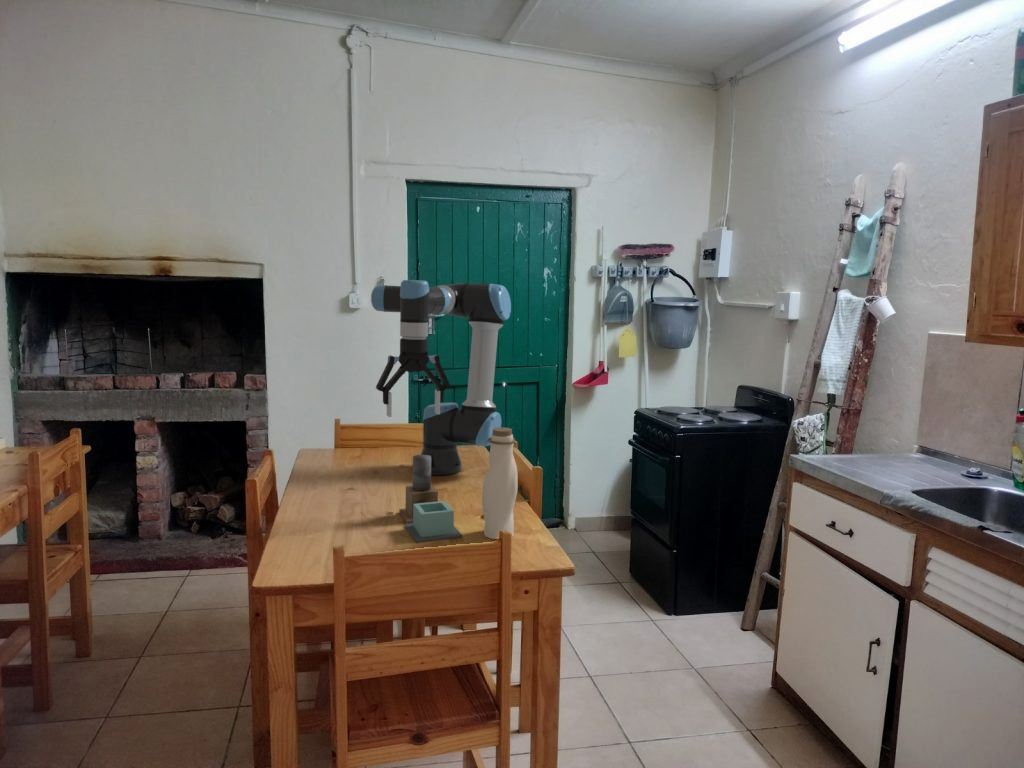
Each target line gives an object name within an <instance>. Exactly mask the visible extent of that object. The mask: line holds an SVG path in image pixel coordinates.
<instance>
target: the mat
mask: <svg viewBox="0 0 1024 768" xmlns="http://www.w3.org/2000/svg"><path fill="white" fill-rule="evenodd" d="M404 527H405V529H406V530H407V532H408V533H409V535H410V536H411V537H412V539H413V540H414V542H415V543H425V542H426V543H427V542H432V541H433V542H435V541H441V540H449V539H460V538H463V535H462V534H461V533H460V531H459V530H458V529H457V528H456V527H455V526H454V530H453V534H445V535H436V536H427V537H421V536H420V535H419V533H418V532H417V530H416V529H415V528H414V526H413V523H411V524H407V523H405V524H404Z"/></svg>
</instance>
